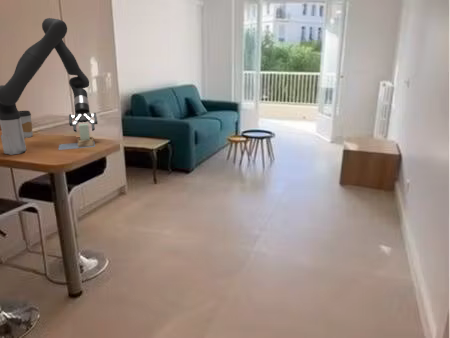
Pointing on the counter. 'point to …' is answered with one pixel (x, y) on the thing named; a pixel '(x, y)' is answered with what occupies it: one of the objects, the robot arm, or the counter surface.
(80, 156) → the counter surface
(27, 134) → the coffee cup
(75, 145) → the blueprint board
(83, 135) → the pillar
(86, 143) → the socket block
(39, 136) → the counter surface
